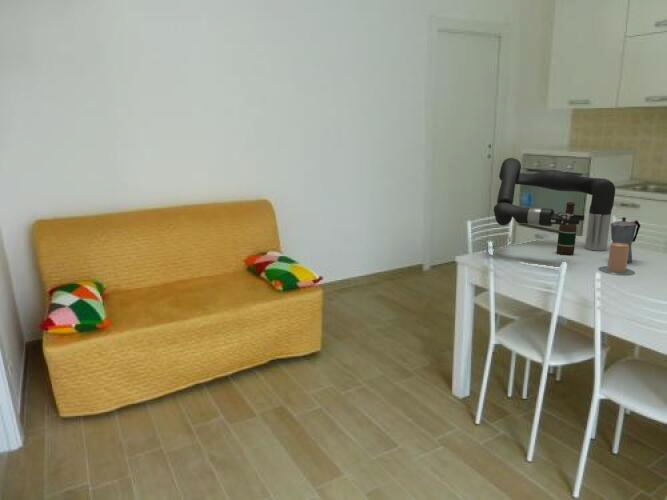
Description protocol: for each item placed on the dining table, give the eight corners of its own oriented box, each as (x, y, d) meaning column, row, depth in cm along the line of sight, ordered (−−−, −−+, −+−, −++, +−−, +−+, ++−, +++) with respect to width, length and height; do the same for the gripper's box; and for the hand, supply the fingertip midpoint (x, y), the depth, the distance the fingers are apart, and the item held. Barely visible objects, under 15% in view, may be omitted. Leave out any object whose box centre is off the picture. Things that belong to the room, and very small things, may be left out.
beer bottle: (570, 251, 232) (576, 201, 226) (576, 256, 224) (583, 203, 218) (553, 251, 233) (558, 201, 226) (559, 255, 225) (564, 203, 219)
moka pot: (597, 261, 216) (603, 216, 210) (623, 257, 221) (630, 213, 216) (616, 267, 207) (623, 220, 202) (643, 263, 212) (650, 217, 207)
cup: (605, 267, 203) (609, 242, 201) (623, 269, 201) (626, 243, 199) (609, 272, 197) (612, 245, 195) (627, 273, 196) (630, 246, 193)
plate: (595, 266, 208) (595, 265, 207) (630, 269, 204) (630, 267, 203) (601, 276, 196) (601, 274, 195) (638, 278, 192) (638, 276, 192)
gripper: (544, 222, 219) (584, 225, 209) (535, 228, 208) (576, 232, 199) (545, 205, 217) (586, 208, 208) (536, 210, 207) (578, 213, 197)
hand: (581, 220), depth 203 cm, fingers open, 8 cm apart
